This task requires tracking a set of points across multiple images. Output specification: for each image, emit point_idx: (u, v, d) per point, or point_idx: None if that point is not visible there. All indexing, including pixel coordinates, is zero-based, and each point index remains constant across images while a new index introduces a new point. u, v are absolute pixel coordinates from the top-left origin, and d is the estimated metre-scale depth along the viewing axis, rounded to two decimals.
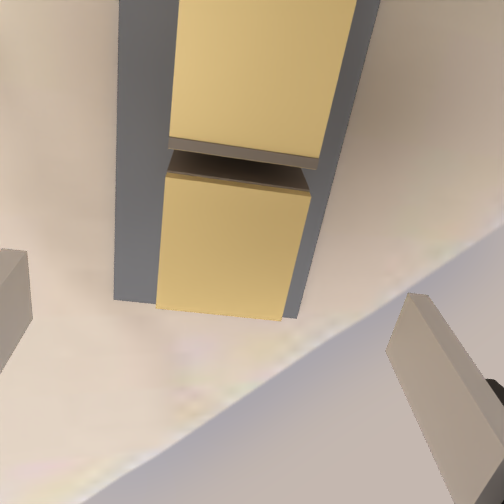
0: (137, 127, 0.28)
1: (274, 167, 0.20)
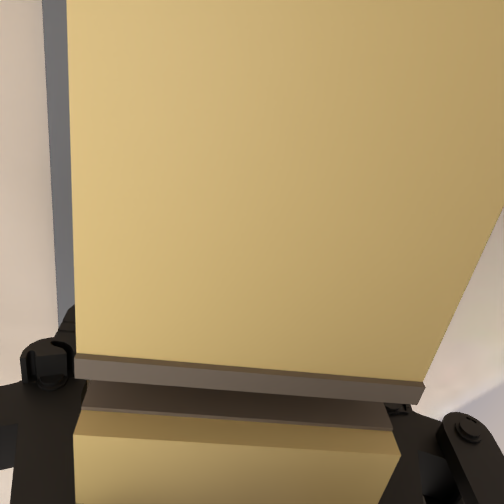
0: None
1: None
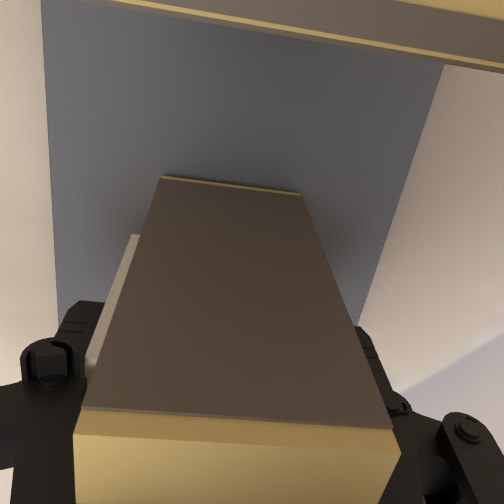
0: (81, 71, 0.16)
1: (309, 344, 0.10)
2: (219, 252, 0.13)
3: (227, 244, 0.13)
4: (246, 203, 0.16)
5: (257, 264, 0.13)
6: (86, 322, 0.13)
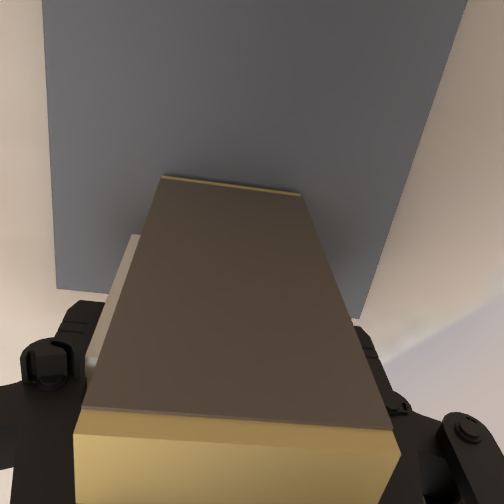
0: None
1: (309, 345, 0.10)
2: (219, 252, 0.13)
3: (227, 244, 0.13)
4: (246, 203, 0.16)
5: (257, 264, 0.13)
6: (86, 322, 0.13)
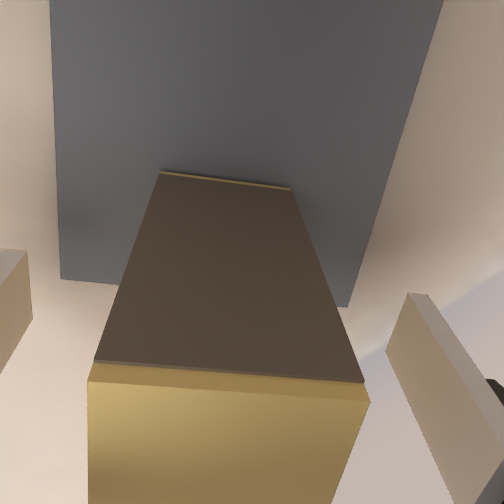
0: None
1: (293, 315, 0.11)
2: (214, 238, 0.14)
3: (221, 231, 0.15)
4: (239, 196, 0.18)
5: (248, 248, 0.14)
6: None
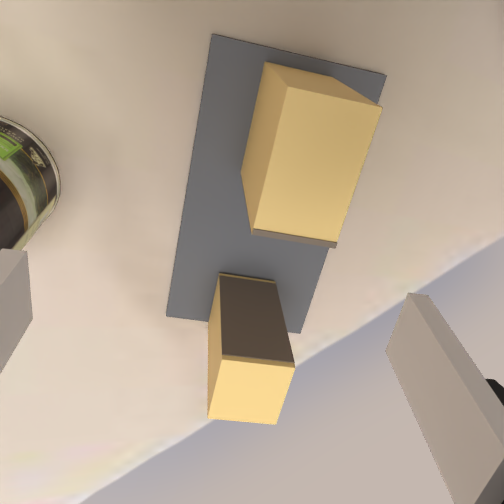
0: (199, 197, 0.40)
1: (275, 342, 0.36)
2: (247, 311, 0.39)
3: (249, 307, 0.39)
4: (254, 288, 0.42)
5: (259, 316, 0.39)
6: None
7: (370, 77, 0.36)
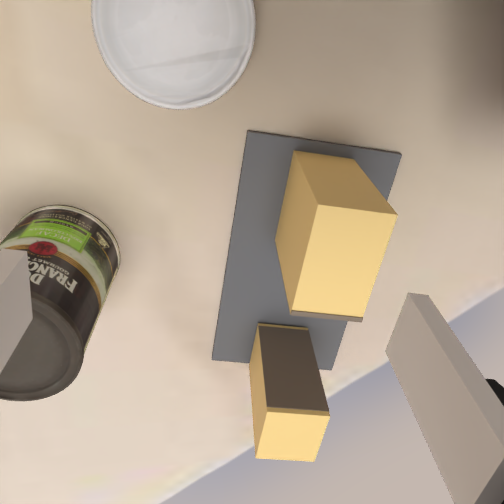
0: (239, 261, 0.46)
1: (311, 391, 0.41)
2: (285, 361, 0.44)
3: (286, 358, 0.45)
4: (289, 336, 0.48)
5: (296, 365, 0.44)
6: None
7: (387, 157, 0.41)
